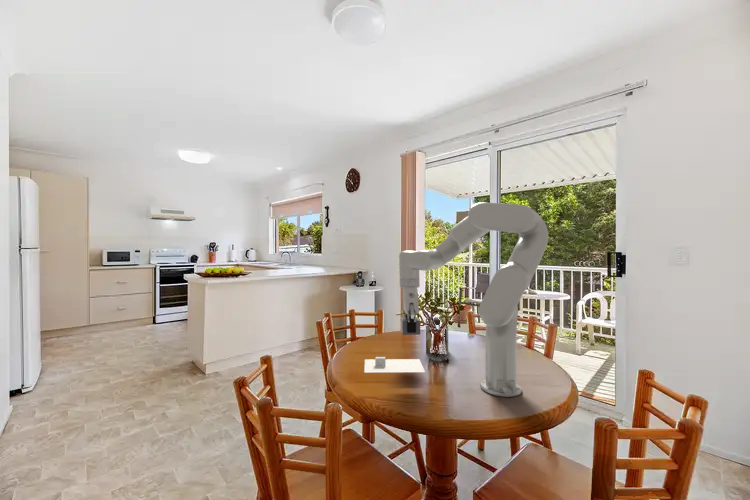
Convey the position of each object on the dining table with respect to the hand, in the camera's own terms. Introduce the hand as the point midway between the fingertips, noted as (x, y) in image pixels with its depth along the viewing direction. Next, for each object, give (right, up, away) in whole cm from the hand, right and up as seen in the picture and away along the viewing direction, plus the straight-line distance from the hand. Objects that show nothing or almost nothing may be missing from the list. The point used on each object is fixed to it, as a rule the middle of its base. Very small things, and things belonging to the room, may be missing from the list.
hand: (410, 329), depth 127 cm
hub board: (-6, -15, 0) cm, 17 cm away
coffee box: (+13, -15, +17) cm, 26 cm away
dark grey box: (0, -1, 0) cm, 1 cm away
